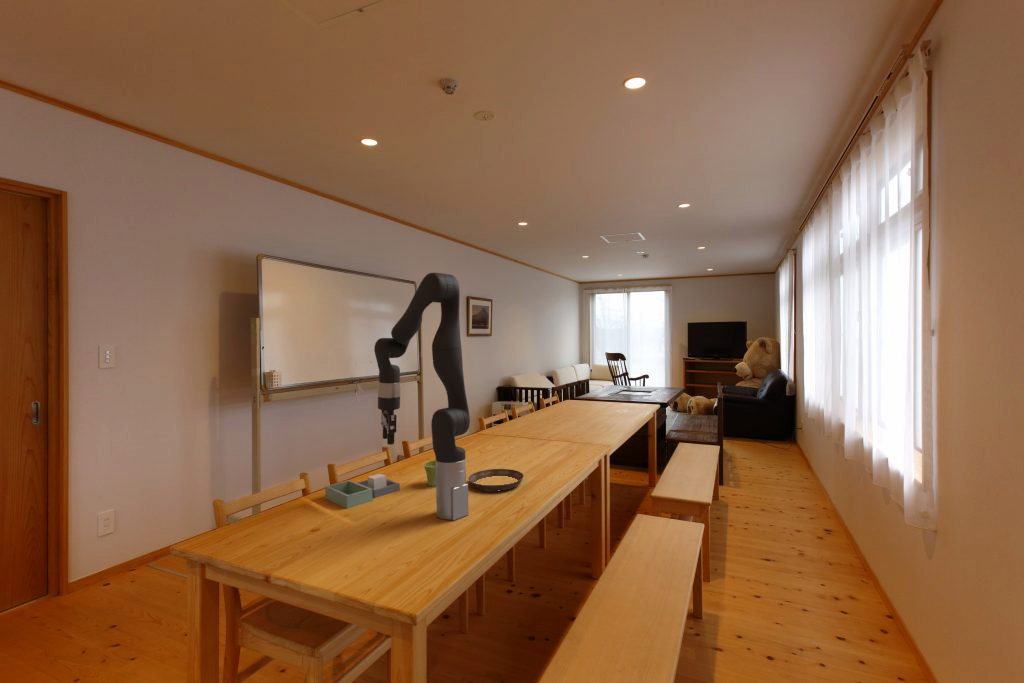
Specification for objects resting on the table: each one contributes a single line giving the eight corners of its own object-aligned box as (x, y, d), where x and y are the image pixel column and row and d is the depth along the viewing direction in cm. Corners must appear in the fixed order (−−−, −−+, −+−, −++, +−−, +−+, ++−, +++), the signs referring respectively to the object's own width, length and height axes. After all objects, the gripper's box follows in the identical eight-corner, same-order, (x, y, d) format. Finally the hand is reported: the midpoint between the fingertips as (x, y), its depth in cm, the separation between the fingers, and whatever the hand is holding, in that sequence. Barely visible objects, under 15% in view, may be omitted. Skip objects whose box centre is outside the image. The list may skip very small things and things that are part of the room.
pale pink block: (386, 489, 168) (386, 475, 168) (374, 493, 164) (373, 478, 164) (380, 487, 170) (380, 473, 170) (368, 490, 167) (367, 476, 167)
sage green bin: (372, 503, 156) (372, 488, 156) (347, 511, 150) (347, 496, 150) (349, 494, 166) (349, 480, 166) (325, 501, 160) (325, 486, 160)
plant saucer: (459, 491, 168) (459, 482, 168) (480, 474, 188) (480, 466, 188) (513, 496, 162) (513, 487, 162) (530, 478, 181) (530, 470, 181)
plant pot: (436, 492, 166) (435, 468, 166) (418, 487, 172) (418, 464, 172) (454, 485, 174) (454, 462, 174) (437, 481, 180) (436, 458, 179)
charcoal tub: (399, 493, 166) (399, 483, 166) (374, 500, 159) (374, 490, 159) (379, 485, 175) (379, 476, 175) (355, 492, 168) (354, 483, 168)
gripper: (404, 397, 158) (403, 445, 159) (395, 391, 171) (394, 436, 172) (381, 398, 155) (380, 447, 156) (374, 392, 168) (373, 437, 168)
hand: (388, 441), depth 164 cm, fingers open, 8 cm apart
